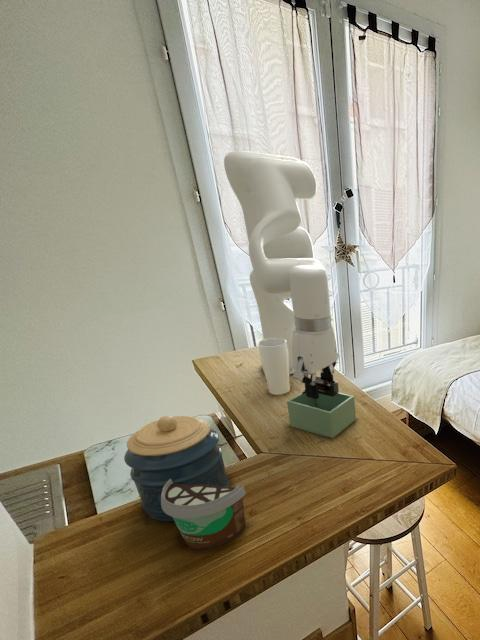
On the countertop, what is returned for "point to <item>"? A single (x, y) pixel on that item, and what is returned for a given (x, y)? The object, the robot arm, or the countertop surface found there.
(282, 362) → the drinking glass
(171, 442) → the canister
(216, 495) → the food container
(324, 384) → the wireless earbuds
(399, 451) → the countertop surface
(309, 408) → the bin
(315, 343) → the robot arm
